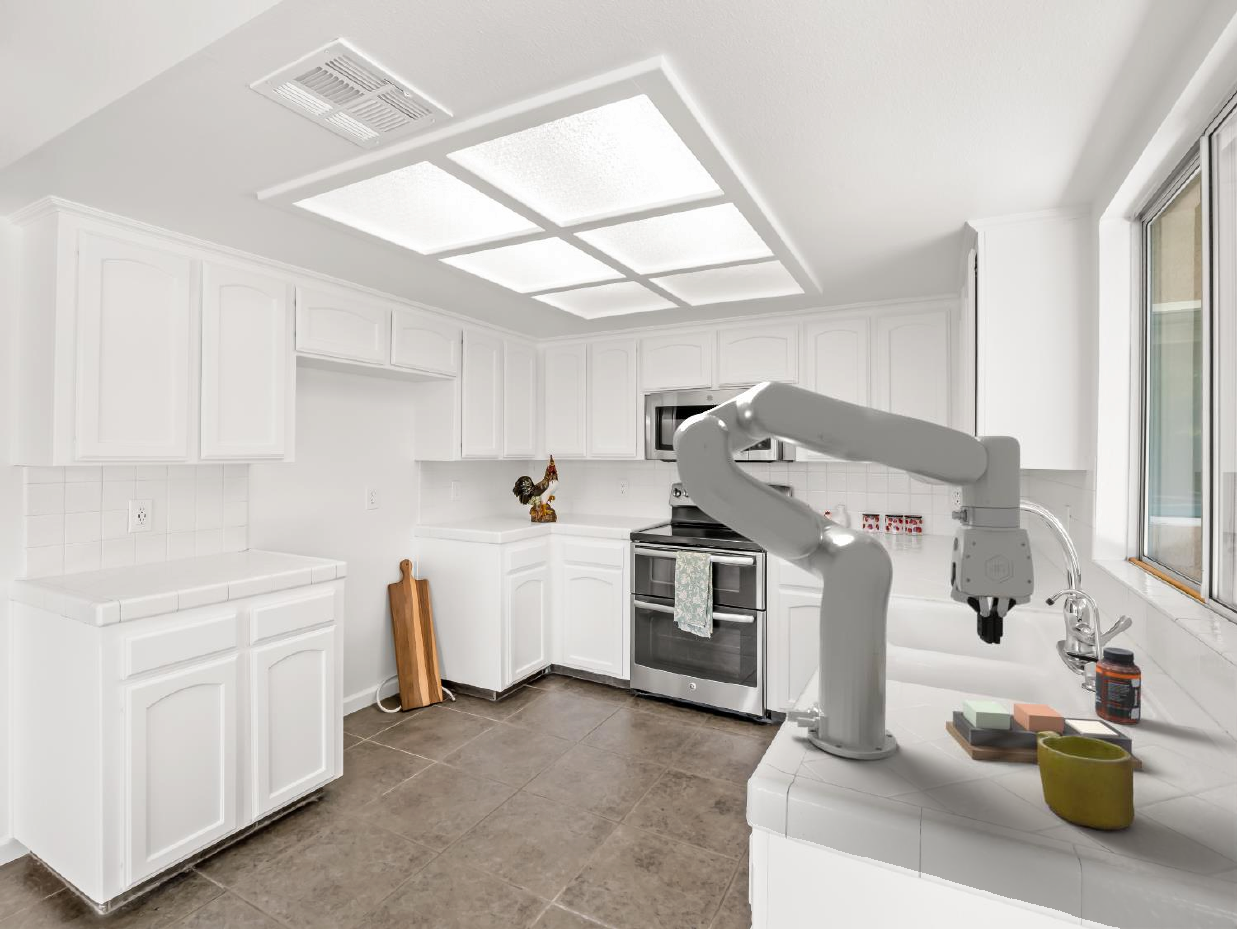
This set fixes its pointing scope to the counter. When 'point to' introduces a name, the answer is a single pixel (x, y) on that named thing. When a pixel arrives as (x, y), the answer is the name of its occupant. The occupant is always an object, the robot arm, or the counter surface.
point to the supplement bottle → (1118, 687)
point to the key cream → (1090, 728)
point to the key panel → (1019, 740)
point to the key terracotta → (1038, 718)
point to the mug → (1086, 780)
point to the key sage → (986, 715)
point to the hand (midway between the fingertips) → (989, 641)
